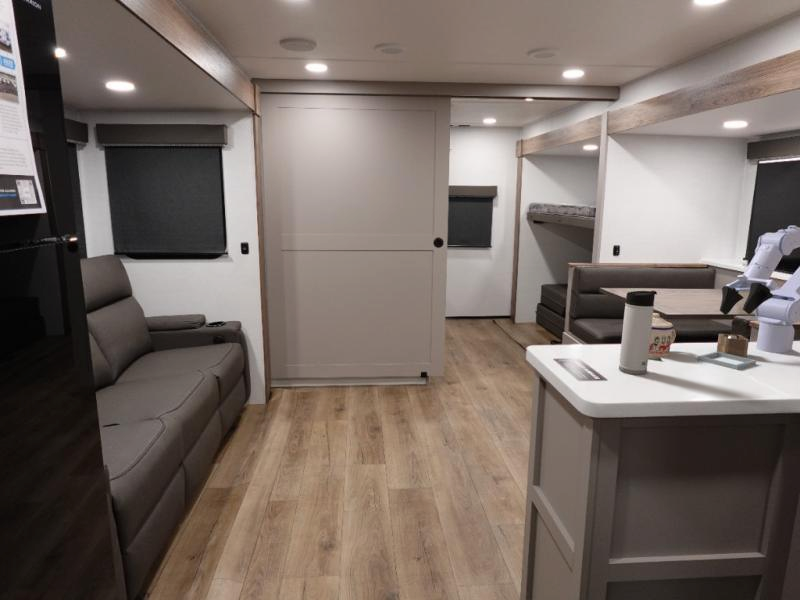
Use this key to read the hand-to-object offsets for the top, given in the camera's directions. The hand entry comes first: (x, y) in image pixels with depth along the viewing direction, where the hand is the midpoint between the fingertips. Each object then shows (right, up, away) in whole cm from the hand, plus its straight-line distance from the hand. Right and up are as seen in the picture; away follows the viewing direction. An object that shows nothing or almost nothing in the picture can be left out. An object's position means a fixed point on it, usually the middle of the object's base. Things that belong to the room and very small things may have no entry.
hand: (734, 312), depth 141 cm
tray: (-4, -14, -2) cm, 14 cm away
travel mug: (-30, -14, -9) cm, 35 cm away
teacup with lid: (-18, -12, +6) cm, 22 cm away
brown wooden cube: (+2, -12, +5) cm, 13 cm away
